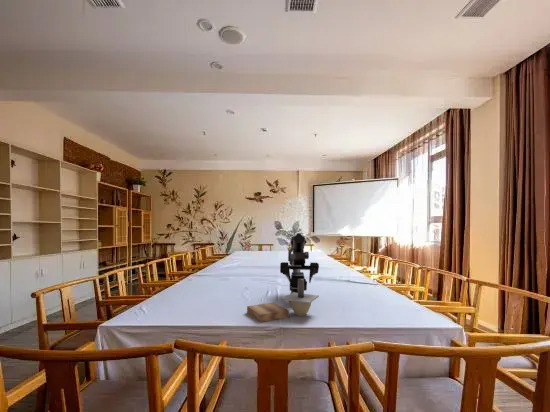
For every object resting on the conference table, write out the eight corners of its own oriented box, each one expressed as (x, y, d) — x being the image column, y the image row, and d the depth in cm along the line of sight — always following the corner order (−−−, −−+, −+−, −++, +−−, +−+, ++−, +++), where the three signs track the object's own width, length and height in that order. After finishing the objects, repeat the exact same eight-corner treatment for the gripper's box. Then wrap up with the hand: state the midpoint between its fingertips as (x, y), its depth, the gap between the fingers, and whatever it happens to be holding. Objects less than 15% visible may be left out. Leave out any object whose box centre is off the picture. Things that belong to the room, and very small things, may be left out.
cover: (293, 293, 141) (293, 275, 141) (318, 296, 135) (318, 278, 136) (281, 299, 129) (282, 280, 130) (309, 303, 123) (309, 283, 124)
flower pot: (310, 318, 126) (310, 301, 126) (288, 316, 128) (288, 300, 128) (312, 311, 136) (312, 296, 136) (291, 310, 138) (291, 294, 138)
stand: (273, 308, 140) (273, 302, 140) (288, 317, 128) (288, 310, 128) (247, 312, 133) (247, 306, 133) (260, 322, 121) (260, 314, 121)
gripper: (280, 245, 142) (280, 272, 130) (318, 246, 142) (321, 272, 130) (280, 259, 149) (280, 286, 138) (316, 260, 149) (319, 286, 138)
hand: (300, 282), depth 136 cm, fingers open, 9 cm apart
